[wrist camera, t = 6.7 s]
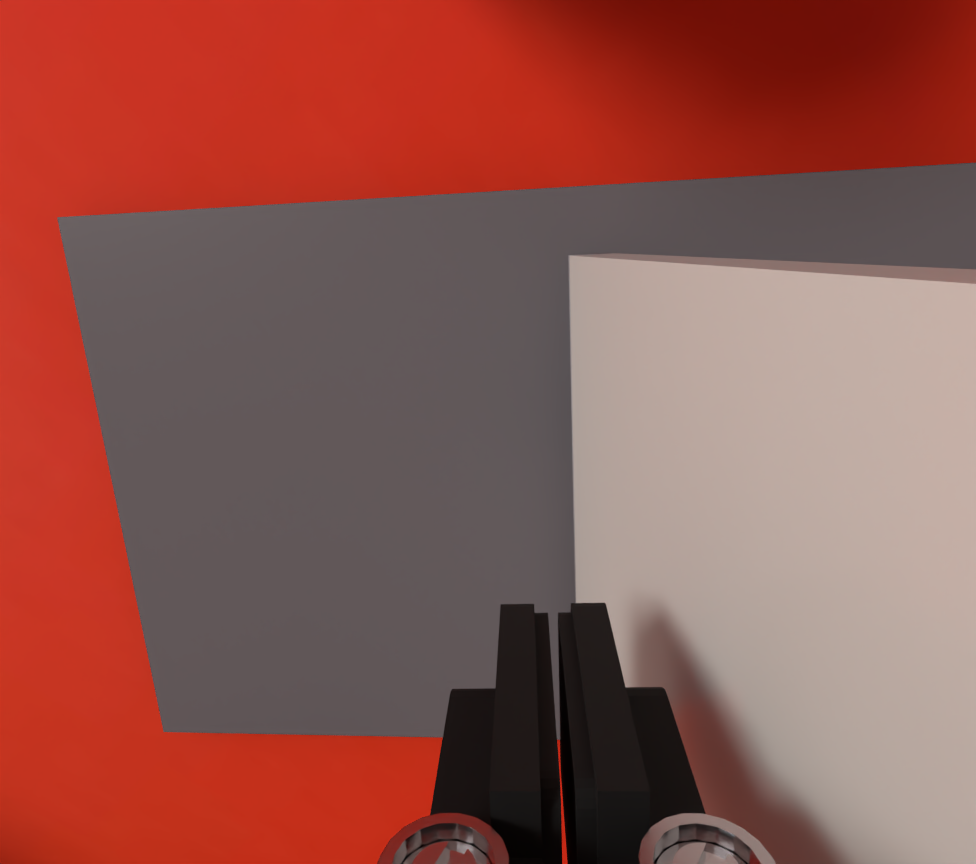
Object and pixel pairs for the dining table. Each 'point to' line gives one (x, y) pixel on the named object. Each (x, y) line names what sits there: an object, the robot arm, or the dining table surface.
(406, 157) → the dining table surface
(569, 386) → the base
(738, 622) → the tile
